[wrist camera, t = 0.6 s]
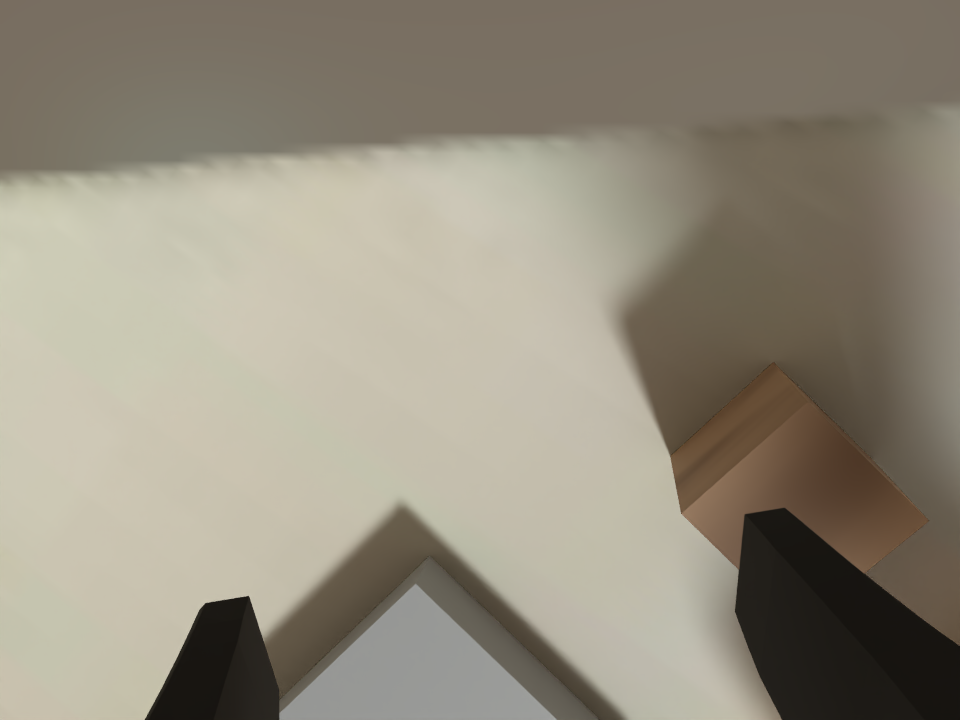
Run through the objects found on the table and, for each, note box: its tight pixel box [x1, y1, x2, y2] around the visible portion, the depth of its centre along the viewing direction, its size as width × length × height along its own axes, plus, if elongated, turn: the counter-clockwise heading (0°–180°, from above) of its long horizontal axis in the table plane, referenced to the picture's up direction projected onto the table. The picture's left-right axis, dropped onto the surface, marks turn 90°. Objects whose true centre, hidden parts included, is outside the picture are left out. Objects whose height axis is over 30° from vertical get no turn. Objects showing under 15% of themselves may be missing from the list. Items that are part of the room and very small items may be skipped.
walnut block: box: [670, 362, 929, 573], centre depth 30 cm, size 5×5×6 cm
